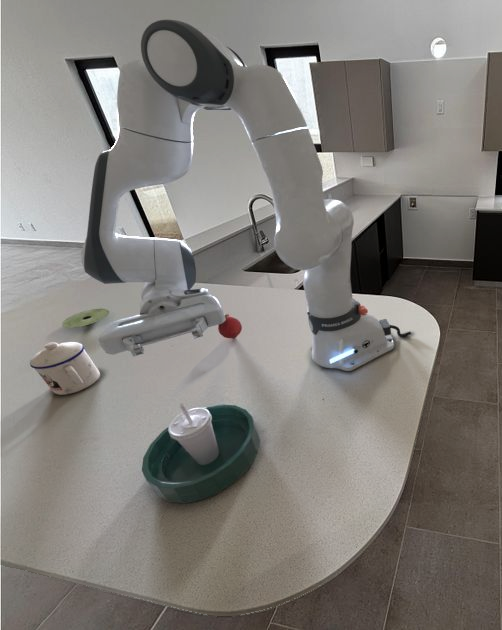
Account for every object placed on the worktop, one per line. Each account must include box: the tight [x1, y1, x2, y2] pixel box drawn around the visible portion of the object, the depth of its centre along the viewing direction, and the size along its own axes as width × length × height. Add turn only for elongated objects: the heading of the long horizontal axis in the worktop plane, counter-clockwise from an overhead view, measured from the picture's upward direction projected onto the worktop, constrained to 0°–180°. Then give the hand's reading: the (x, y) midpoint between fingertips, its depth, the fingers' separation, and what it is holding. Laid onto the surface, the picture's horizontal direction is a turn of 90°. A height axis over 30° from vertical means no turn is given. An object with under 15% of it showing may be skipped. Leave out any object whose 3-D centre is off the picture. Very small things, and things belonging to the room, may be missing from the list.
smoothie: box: [167, 403, 219, 465], centre depth 59 cm, size 6×6×14 cm
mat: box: [61, 307, 110, 329], centre depth 103 cm, size 11×11×2 cm
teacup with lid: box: [29, 341, 101, 396], centre depth 77 cm, size 12×9×12 cm
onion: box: [217, 313, 243, 340], centre depth 94 cm, size 6×6×8 cm
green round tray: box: [141, 404, 261, 504], centre depth 62 cm, size 18×18×5 cm
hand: (168, 343), depth 61 cm, fingers open, 8 cm apart
